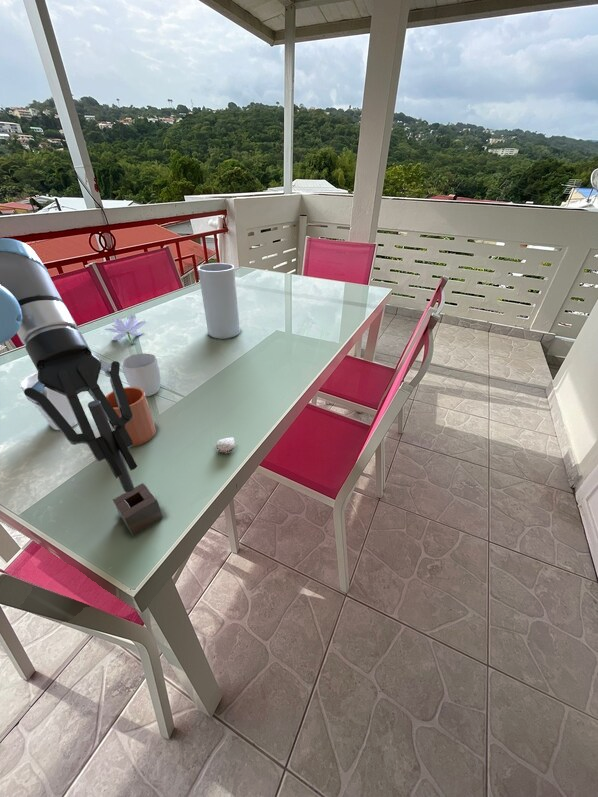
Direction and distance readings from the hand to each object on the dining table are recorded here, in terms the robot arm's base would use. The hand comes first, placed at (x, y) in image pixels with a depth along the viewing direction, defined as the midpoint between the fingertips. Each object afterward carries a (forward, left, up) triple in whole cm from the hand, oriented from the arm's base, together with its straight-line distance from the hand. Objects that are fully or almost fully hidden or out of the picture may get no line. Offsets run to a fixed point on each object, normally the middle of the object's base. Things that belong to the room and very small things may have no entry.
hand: (126, 472), depth 50 cm
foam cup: (-42, +17, -15) cm, 47 cm away
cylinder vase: (-35, +81, -15) cm, 89 cm away
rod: (-4, +2, -7) cm, 8 cm away
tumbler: (-22, +20, -15) cm, 33 cm away
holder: (-4, +2, -15) cm, 16 cm away
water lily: (-64, +62, -15) cm, 90 cm away
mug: (-34, +38, -15) cm, 53 cm away
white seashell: (+1, +24, -15) cm, 28 cm away
